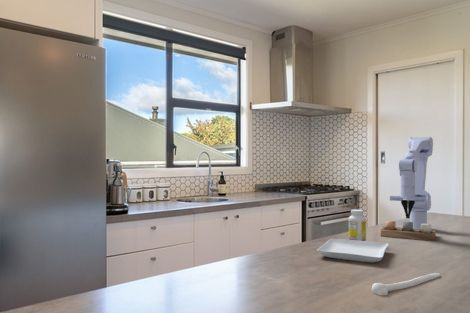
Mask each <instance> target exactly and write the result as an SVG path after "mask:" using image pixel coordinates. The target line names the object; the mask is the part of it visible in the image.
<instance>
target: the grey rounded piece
mask: <svg viewBox="0 0 470 313" xmlns="http://www.w3.org/2000/svg"><path fill="white" fill-rule="evenodd" d="M402 228H403V230H404V231H413V222H410V221H404V220H403V221H402Z"/></svg>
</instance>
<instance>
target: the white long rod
mask: <svg viewBox="0 0 470 313" xmlns="http://www.w3.org/2000/svg"><path fill="white" fill-rule="evenodd" d="M439 277H441V274H440V273H437V272H434V273H428V274H425V275H421V276H418V277H415V278H412V279H410V280H405V281H404V280H403V281H399V282H395V283H387V284H385V283H382V282H375V283H373V284H372V285H371V292H372V293H373V294H375V295H378V296H387V295H388V293H389V292H393V291H399V290H402V289H406V288H411V287H415V286H418V285H420V284H422V283H425V282H428V281H431V280H434V279H438V278H439Z"/></svg>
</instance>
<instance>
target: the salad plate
mask: <svg viewBox="0 0 470 313" xmlns="http://www.w3.org/2000/svg"><path fill="white" fill-rule="evenodd" d="M389 245H390V243H387V242H378V241H368V240H366V241H357V240H349V239H343V238H330V239H328V240H327V241H326V242H325V243H324V244H322V245H321V246H320V247H318V248H317V249H316V250H317V252H318V254H319V255H320V256H323V257H326V258H329V259H336V260H344V261H353V262H362V263H371V264H372V263H377V262H380V261H382V260H383V258H384V255H385V252H386V250H387V249H388V248H389Z"/></svg>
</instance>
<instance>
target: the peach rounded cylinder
mask: <svg viewBox="0 0 470 313" xmlns="http://www.w3.org/2000/svg"><path fill="white" fill-rule="evenodd" d="M385 226H386V230H395V227H396V221H394V220H385Z"/></svg>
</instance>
